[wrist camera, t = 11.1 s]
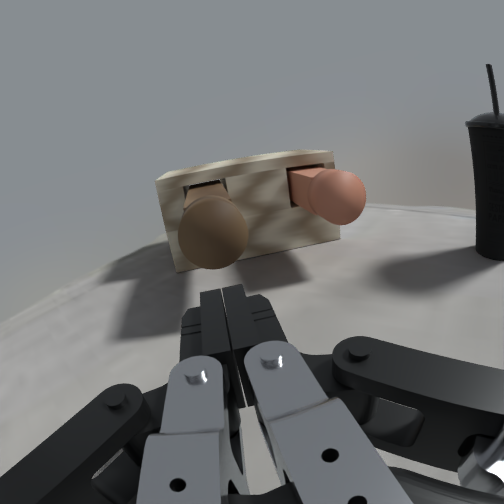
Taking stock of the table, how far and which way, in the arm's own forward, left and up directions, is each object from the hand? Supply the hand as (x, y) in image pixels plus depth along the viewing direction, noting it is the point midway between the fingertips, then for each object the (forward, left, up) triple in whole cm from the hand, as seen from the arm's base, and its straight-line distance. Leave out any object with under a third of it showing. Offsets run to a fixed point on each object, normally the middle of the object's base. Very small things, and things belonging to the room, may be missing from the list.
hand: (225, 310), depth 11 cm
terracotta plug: (+11, +21, -2) cm, 24 cm away
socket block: (+5, +28, -7) cm, 29 cm away
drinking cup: (+28, +9, -7) cm, 31 cm away
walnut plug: (0, +18, -2) cm, 18 cm away
